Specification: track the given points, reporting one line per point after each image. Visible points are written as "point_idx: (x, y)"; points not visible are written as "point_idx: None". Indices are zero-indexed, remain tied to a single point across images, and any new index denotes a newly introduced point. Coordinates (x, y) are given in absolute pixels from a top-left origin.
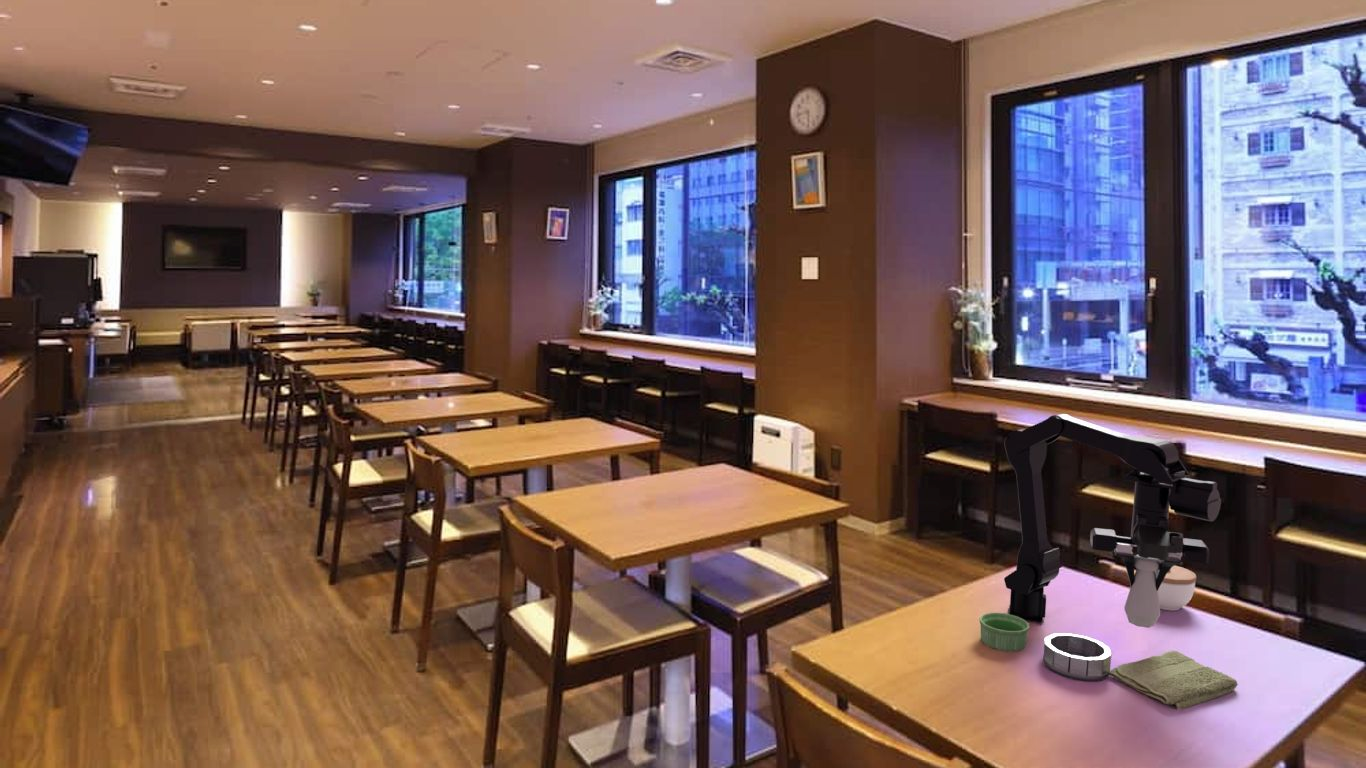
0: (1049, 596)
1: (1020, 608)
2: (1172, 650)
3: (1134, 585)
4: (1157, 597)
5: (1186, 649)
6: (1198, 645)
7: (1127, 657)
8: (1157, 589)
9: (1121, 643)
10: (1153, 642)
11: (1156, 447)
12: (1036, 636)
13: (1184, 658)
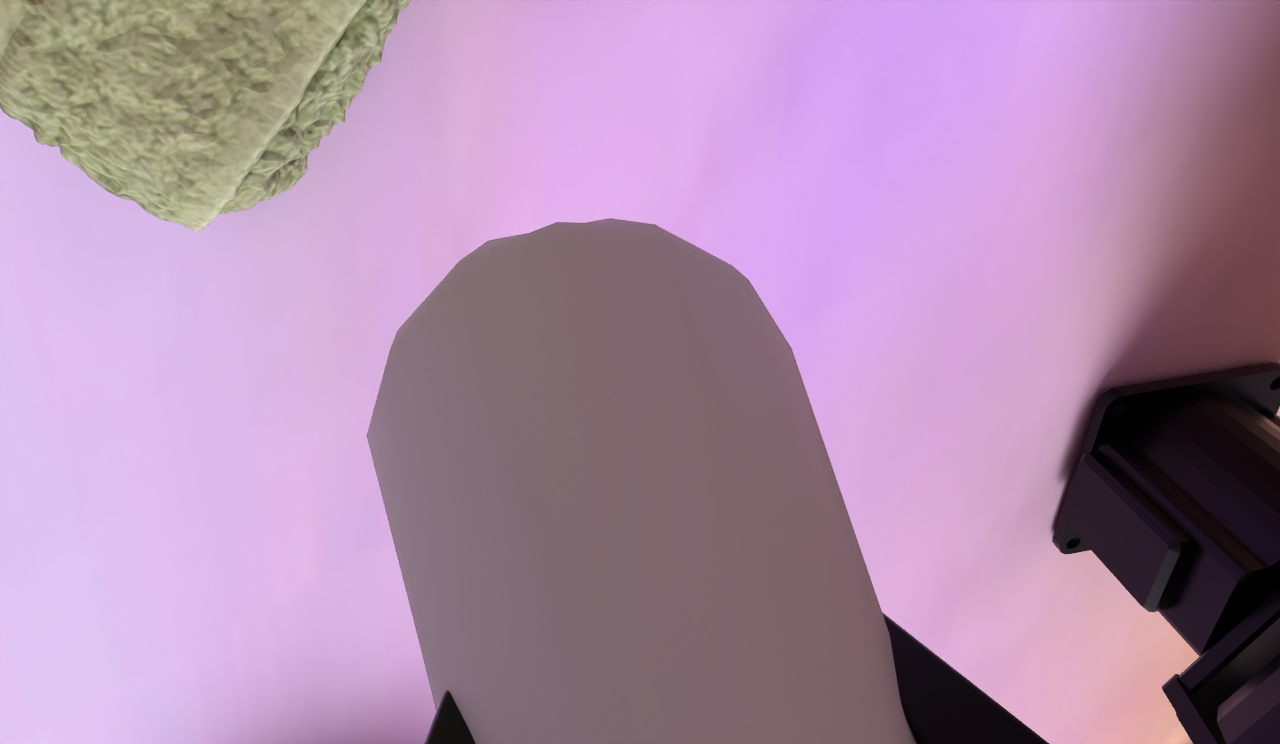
0: None
1: (1274, 427)
2: (232, 192)
3: (870, 641)
4: (425, 595)
5: (184, 490)
6: (118, 594)
7: (606, 98)
8: (442, 726)
9: None
10: None
11: None
12: (1206, 158)
13: (77, 18)
